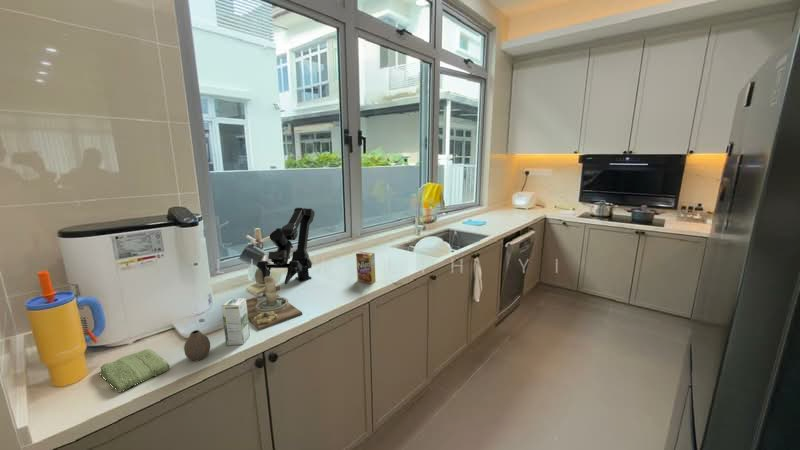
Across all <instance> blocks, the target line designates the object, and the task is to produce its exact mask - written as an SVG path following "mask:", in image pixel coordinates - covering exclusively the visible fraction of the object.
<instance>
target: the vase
mask: <svg viewBox="0 0 800 450" xmlns="http://www.w3.org/2000/svg"><path fill="white" fill-rule="evenodd" d="M183 351H184V355H185V357H186V358H187V359H188V360H189V361H192V360H193V361H192V362H196V360H198V361H200V359H201V360H203V359H205V358H206V357H207V355H209V353H210V351H211V341H210V338H209V337H208V336H207V335H206V334H204V333H203V332H201V330H199V329H195V330H192V331H191V332H190V334H189V336H188V337H187V339H186V340H185V343H184V345H183ZM204 357H205V358H204Z"/></svg>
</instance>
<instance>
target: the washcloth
mask: <svg viewBox="0 0 800 450" xmlns="http://www.w3.org/2000/svg"><path fill="white" fill-rule="evenodd" d="M169 368H170V363H168V362H167V361H166V360H164V359H163V358H162V357H161V356H159V355H158V354H157V353H156V351H154V350H153V349H152V348H145V349H142V350H140V351H137V352H134V353H130V354H127V355H124V356H121V357H120V358H117V359H116V360H114V361H111V362H106V363H104V364H102V365H101V366H100V372H99V375H100V374H101V375H102V376H103V377H104V378H105V379H106V380H107V382H108V383H107V382H106V383H107V384H108V385H110V384H111V385H112V386H113V389H115V388H116V390H115V391H117V390H118V391H123V390H125V389H127V388H129V387H131V386H133V385H135V384H137V383H140V382H141V381H143V380H145V381H147V380H149V379H151V378H150V377H152V376H155V375H156V376H158V375H157V374H160V373H162V372H163V373H166V372H167V371H169ZM165 371H166V372H165ZM163 373H162V374H163ZM160 375H161V374H160ZM156 376H155V377H156ZM103 377H102V378H103ZM148 378H149V379H148ZM152 378H153V377H152ZM105 379H104V380H105ZM146 379H147V380H146ZM106 380H105V381H106ZM143 382H144V381H143ZM111 385H110V386H111ZM133 387H134V386H133ZM131 388H132V387H131ZM129 389H130V388H129ZM127 390H128V389H127ZM118 391H117V392H118ZM125 391H126V390H125ZM123 392H124V391H123Z"/></svg>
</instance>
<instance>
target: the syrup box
mask: <svg viewBox="0 0 800 450" xmlns="http://www.w3.org/2000/svg"><path fill="white" fill-rule="evenodd" d="M246 300H247V298H241V297H240V298H239V297H238V298H236V297H235V298H231V299H230V298H229V299H228V300H227V301H226V302H225V303H224V304H222V306H221V312H222V321H223V330H224V337H225V338H224V339H225V345H226V346H238V345H244V344H245V343H246V341H247V340H248V339H249V337H250V327H249V325H250V324H249V320H248V313H247V304H246Z"/></svg>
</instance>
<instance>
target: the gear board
mask: <svg viewBox="0 0 800 450" xmlns="http://www.w3.org/2000/svg"><path fill="white" fill-rule="evenodd" d="M276 296H277V300H279V301H280V300H281V301H282V303H283V304H282V306H280V307H277V308H274V309H262V307H263V303H266V302H267V300H266V292H261V293H259V294H257V295H255V296H254V297H252V298H248V299H247V298H246V304H247V313H248V322H250V323H251V324H252V325H253V326H254V327H255V328H256V329H257V330H258V331H261V330H264V329H266V328H269V327H271V326H275V325H277V324H280V323H282V322H285V321H288V320H291V319H294V318H297V317H300V316H302V315H303V312H302V310H300V309H298V308H297V307H295V306H294V305H293V304H292V303H290V302H289V299H287V297H283V296H279V295H278V294H277V293H276Z"/></svg>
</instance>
